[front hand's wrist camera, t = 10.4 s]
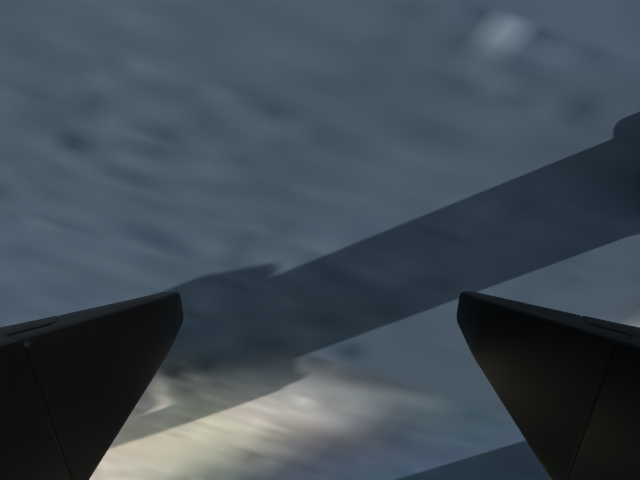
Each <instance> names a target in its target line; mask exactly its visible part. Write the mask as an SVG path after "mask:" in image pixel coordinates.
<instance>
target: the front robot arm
mask: <svg viewBox="0 0 640 480" xmlns="http://www.w3.org/2000/svg"><path fill="white" fill-rule="evenodd" d="M182 322H183V310H182V304H181V297H180V294H179V293H178V292H163V293H159V294H154V295H150V296H145V297H141V298H136V299H132V300H127V301H123V302H118V303H114V304H109V305H105V306H100V307H96V308H91V309H87V310H82V311H78V312H73V313H69V314H64V315H60V316H59V317H58V316H53V317H49V318H44V319H39V320H35V321H30V322H25V323H21V324H16V325H11V326H6V327H1V328H0V480H89V479H90V477H91V476H92V474H93V472H94V471H95V469H96V468H97V466H98V464H99V463H100V461H101V460H102V458H103V456H104V455H105V453H106V452H107V450H108V449H109V447H110V445H111V444H112V442H113V441H114V439H115V437H116V436H117V434H118V433H119V431H120V430H121V428H122V426H123V425H124V423H125V422H126V420H127V418H128V417H129V415H130V414H131V412H132V410H133V409H134V407H135V406H136V404H137V403H138V401H139V399H140V398H141V396H142V395H143V393H144V391H145V390H146V388H147V387H148V385H149V384H150V382H151V380H152V379H153V377H154V376H155V374H156V372H157V371H158V369H159V368H160V366H161V364H162V363H163V361H164V360H165V358H166V356H167V354H168V352H169V350H170V348H171V346H172V344H173V342H174V340H175V338H176V335H177V333H178V331H179V329H180V327H181V325H182ZM457 322H458V325H459V327H460V329H461V331H462V333H463V335H464V338H465V340H466V342H467V344H468V346H469V348H470V350H471V352H472V354H473V356H474V358H475V360H476V361H477V363H478V364H479V366H480V368H481V369H482V371H483V372H484V374H485V376H486V377H487V379H488V380H489V382H490V383H491V385H492V387H493V388H494V390H495V391H496V393H497V395H498V396H499V398H500V399H501V401H502V403H503V404H504V406H505V407H506V409H507V410H508V412H509V414H510V415H511V417H512V418H513V420H514V422H515V423H516V425H517V426H518V428H519V429H520V431H521V433H522V434H523V436H524V437H525V439H526V441H527V442H528V444H529V445H530V447H531V449H532V450H533V452H534V453H535V455H536V456H537V458H538V460H539V461H540V463H541V464H542V466H543V468H544V469H545V471H546V472H547V474H548V476H549V477H550V479H551V480H640V328H639V327H634V326H629V325H624V324H619V323H615V322H610V321H605V320H601V319H596V318H591V317H587V316H582V317H581V316H580V315H576V314H571V313H567V312H562V311H558V310H553V309H549V308H544V307H540V306H535V305H531V304H526V303H522V302H517V301H513V300H508V299H504V298H499V297H495V296H490V295H486V294H481V293H477V292H462V293H461V294H460V297H459V304H458V310H457Z"/></svg>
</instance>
